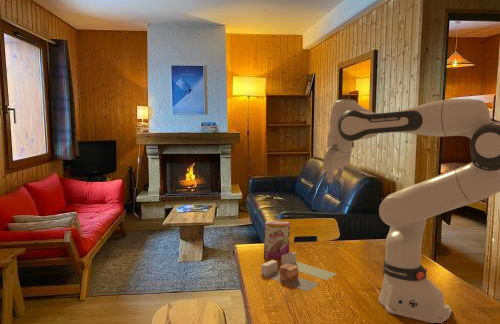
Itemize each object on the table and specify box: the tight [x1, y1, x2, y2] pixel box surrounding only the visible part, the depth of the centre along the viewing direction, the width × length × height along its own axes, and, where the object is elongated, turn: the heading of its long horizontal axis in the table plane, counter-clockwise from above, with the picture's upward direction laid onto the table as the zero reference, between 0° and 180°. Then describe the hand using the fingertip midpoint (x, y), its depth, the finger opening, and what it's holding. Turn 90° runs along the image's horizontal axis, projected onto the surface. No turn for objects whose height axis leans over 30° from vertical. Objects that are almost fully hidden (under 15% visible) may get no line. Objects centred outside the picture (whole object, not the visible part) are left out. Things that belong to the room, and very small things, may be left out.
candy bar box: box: [263, 220, 291, 260], centre depth 173 cm, size 11×5×16 cm, turn 84°
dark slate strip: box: [260, 259, 320, 292], centre depth 148 cm, size 22×8×5 cm, turn 48°
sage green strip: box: [279, 251, 337, 281], centre depth 158 cm, size 22×8×5 cm, turn 48°
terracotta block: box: [279, 263, 299, 283], centre depth 148 cm, size 5×5×5 cm
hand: (334, 180), depth 145 cm, fingers open, 8 cm apart
